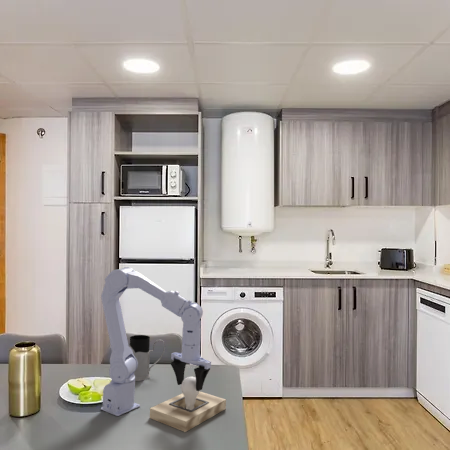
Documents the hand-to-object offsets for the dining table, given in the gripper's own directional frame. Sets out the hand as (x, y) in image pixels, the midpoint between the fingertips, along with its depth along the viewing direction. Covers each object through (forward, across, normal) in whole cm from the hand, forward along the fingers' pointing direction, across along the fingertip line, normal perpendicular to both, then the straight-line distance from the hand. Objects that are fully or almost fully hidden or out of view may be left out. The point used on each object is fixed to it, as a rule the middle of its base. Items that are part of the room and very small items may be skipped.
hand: (189, 386), depth 133 cm
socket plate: (+8, 0, 0) cm, 8 cm away
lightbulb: (+8, 0, -1) cm, 8 cm away
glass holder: (+8, +34, -15) cm, 38 cm away
